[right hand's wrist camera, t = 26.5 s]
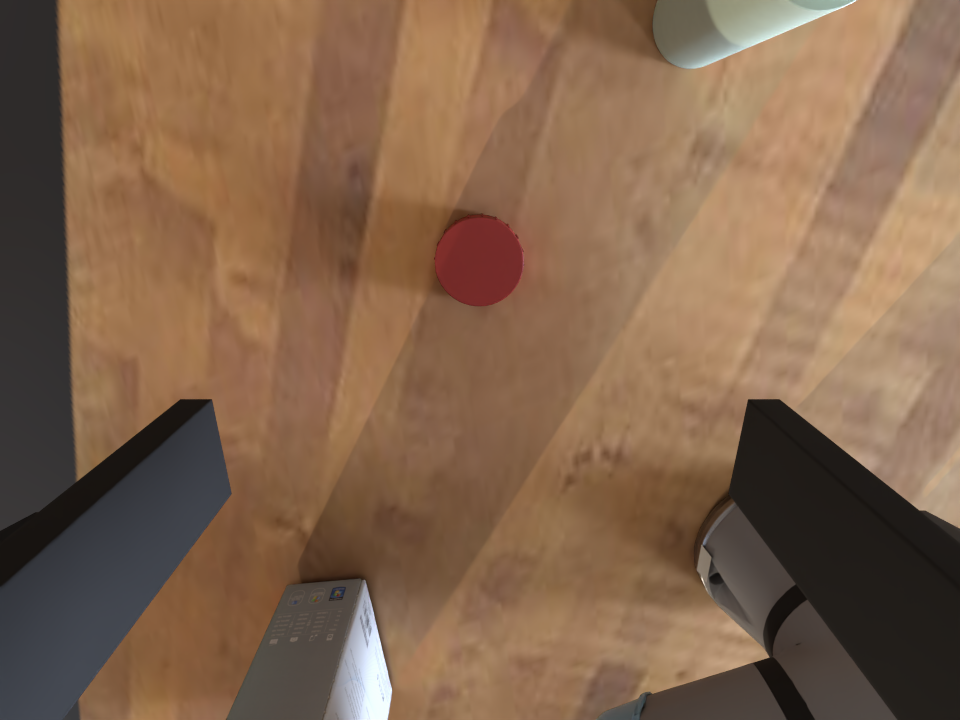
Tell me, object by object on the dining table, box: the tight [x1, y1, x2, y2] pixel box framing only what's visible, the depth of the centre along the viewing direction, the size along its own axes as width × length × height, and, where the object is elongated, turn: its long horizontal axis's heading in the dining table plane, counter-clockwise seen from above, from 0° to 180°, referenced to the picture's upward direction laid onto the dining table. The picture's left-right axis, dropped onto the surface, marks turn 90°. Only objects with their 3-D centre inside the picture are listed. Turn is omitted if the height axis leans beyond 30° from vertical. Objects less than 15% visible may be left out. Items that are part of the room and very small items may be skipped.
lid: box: [434, 214, 524, 306], centre depth 36 cm, size 6×6×2 cm
